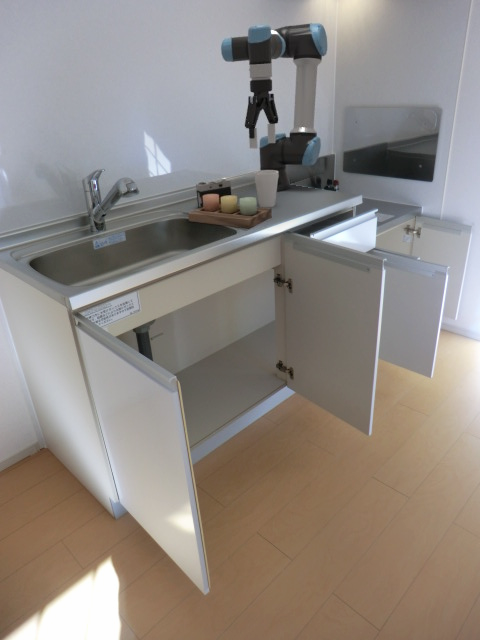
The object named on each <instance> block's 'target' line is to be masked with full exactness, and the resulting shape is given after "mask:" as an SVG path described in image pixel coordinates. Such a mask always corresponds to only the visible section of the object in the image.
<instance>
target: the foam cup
mask: <svg viewBox="0 0 480 640" xmlns="http://www.w3.org/2000/svg"><path fill="white" fill-rule="evenodd" d="M253 174H254V175H253V176H254V182H255V189H256V194H257V201H258V206H259V208H272V207H274V206H276V199H277V192H278V191H277V183H278V178H279V173H278V171H276V170H261V171H260V170H256V171H254V173H253Z"/></svg>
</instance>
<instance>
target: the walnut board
mask: <svg viewBox="0 0 480 640" xmlns="http://www.w3.org/2000/svg"><path fill="white" fill-rule="evenodd" d="M219 205H220V209H219V210H216V211H205V210H204V207H202V208H197V209H195V210H192V211H190V212H188V221H189V222H193V223H200V224H201V223H202V224H210V225H217V226H227V227H232V228H233V227H234V228H235V227H236V228H242V229H251V228H253V227H255V226H257V225H260V224H261V223H263V222H265V221H266V220H269V219H270V218H272V216H273V215H272V208H268V207H257V213H256V214H254V215H241V214H240V205H238V211H237V212H234V213H223V212H222V210H221V204H219Z"/></svg>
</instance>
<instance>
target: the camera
mask: <svg viewBox="0 0 480 640" xmlns="http://www.w3.org/2000/svg"><path fill="white" fill-rule="evenodd" d="M195 187H196V188H195V189H196V198H197V199H196V201H197V209H200V208H202V207H203V195H207V194H218V195H219V204H221V197H223V196H229V195H232V185H231V180H230V179H225V178H222V179H219V180H213V181H206V182H205V181H204V182H203V181H202V182H199V183H195Z"/></svg>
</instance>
